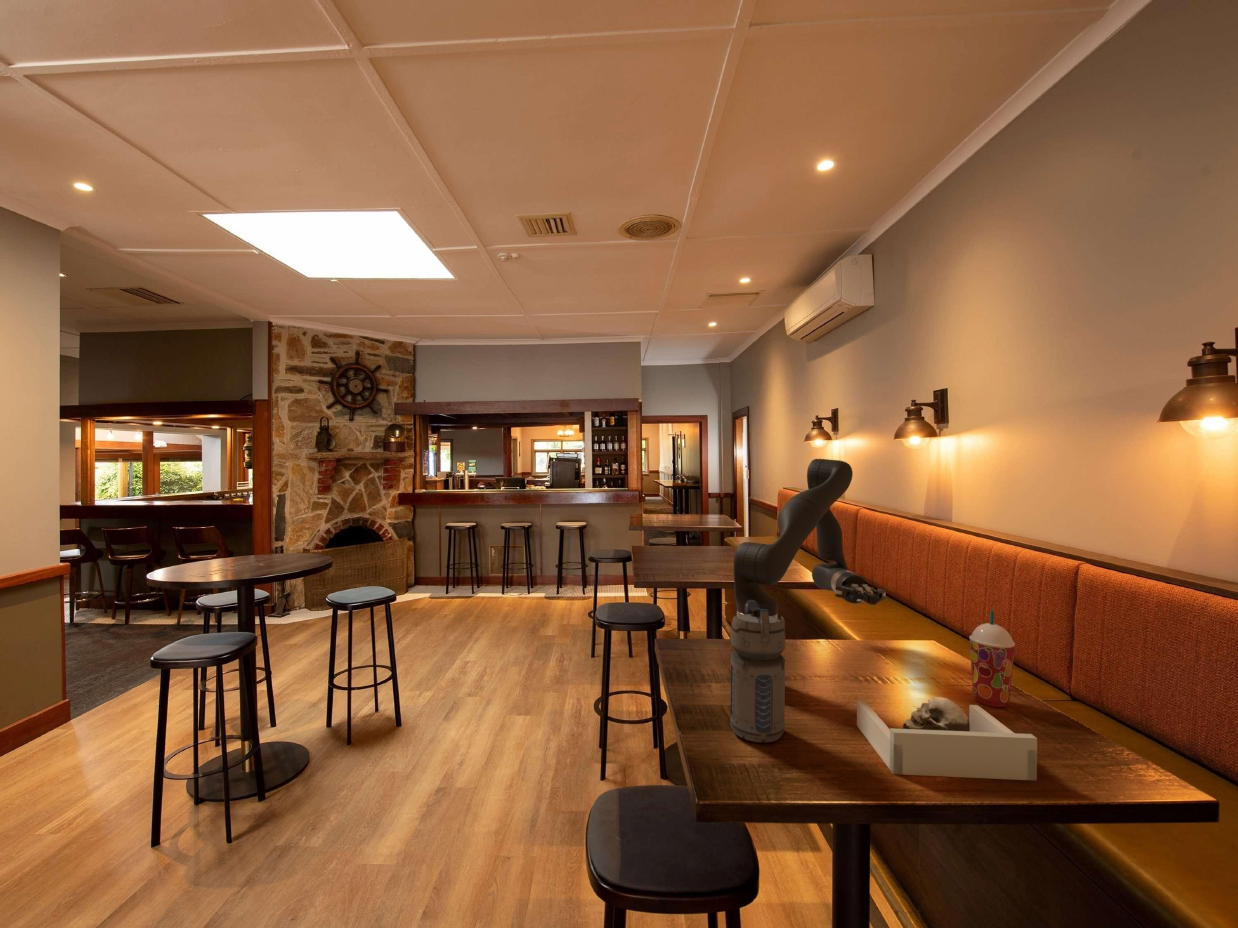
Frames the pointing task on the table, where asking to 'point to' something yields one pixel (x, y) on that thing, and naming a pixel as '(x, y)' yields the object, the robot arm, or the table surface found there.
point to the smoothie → (991, 663)
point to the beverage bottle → (757, 675)
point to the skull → (938, 716)
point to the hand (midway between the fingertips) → (873, 600)
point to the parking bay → (953, 748)
